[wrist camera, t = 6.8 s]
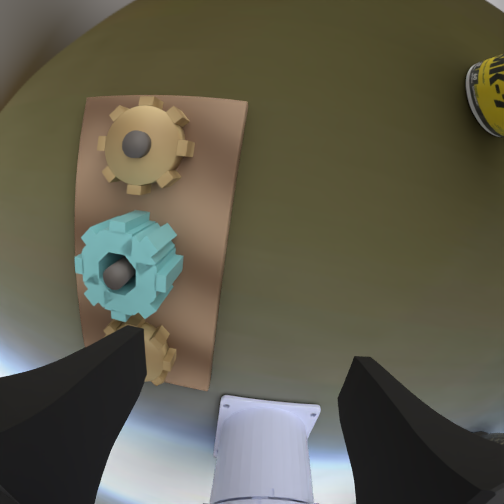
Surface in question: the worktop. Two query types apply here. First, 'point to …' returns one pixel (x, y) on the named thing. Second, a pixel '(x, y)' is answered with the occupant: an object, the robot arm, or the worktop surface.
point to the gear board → (163, 214)
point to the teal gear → (139, 255)
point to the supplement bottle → (487, 94)
